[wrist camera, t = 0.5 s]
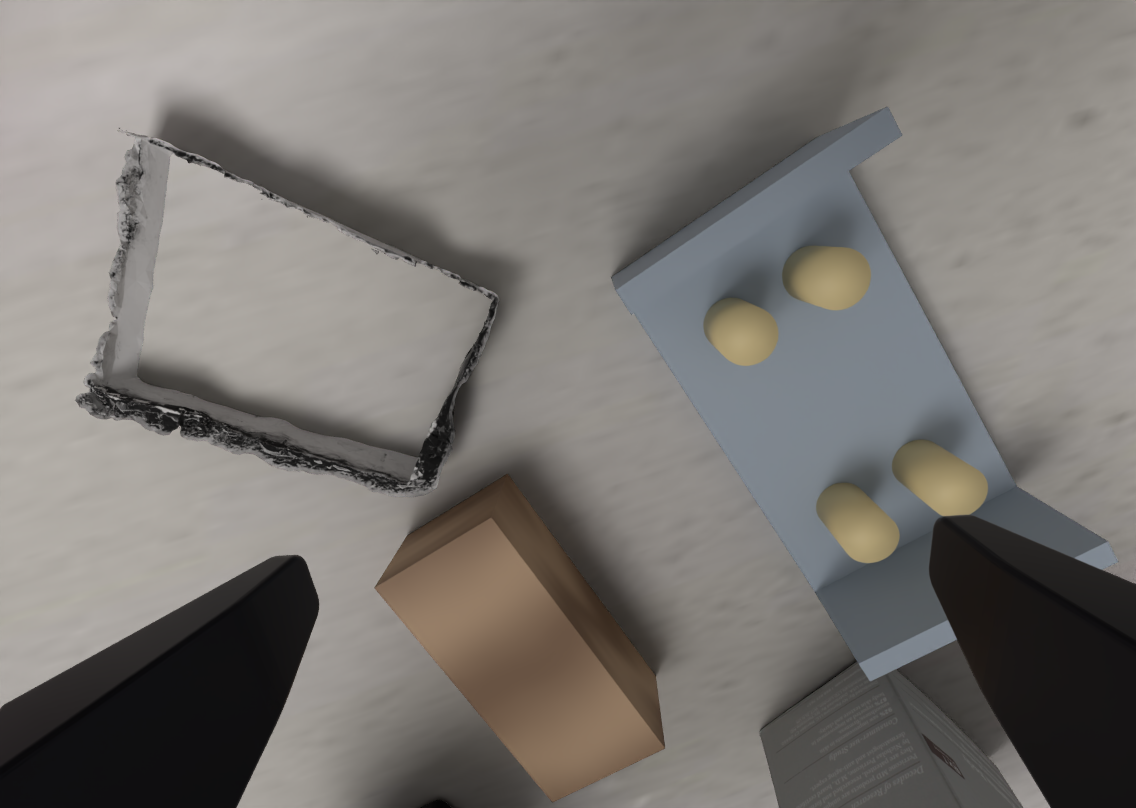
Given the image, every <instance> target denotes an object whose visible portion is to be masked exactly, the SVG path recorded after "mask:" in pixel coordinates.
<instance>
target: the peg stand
mask: <svg viewBox="0 0 1136 808" xmlns="http://www.w3.org/2000/svg"><path fill="white" fill-rule="evenodd" d="M901 136H902V133H901V131H900V129H899V127H898V125H897V123H896V121H895V119H894V118H893V116H892V114H891V112H890V110H889V108H888V107H885V108H883V109H881V110H878V111H876V112H874V113H872V114H869V115H867V116H865V117H862V118H860V119H858V120H855V121H853V122H851V123H848V124H846V125H844V126H842V127H839V128H837V129H835V130H832V131H830V132H828V133H825V134H823V135H821V136H819V137H816V138H815V139H813V140H812V141H811V142H809V143H808V144H806V145H805V146H803V147H802V148H800V149H799V150H797V151H796V152H794V153H793V154H791V155H790V156H788V157H787V158H786V159H784V160H783V161H781V162H780V163H778V164H777V165H775V166H774V167H772V168H771V169H769V170H768V171H766V172H765V173H764V174H762V175H761V176H759V177H758V178H756V179H755V180H753V181H752V182H750V183H749V184H747V185H746V186H744V187H743V188H742V189H740V190H739V191H737V192H736V193H734V194H733V195H731V196H730V197H728V198H727V199H725V200H724V201H722V202H721V203H719V204H718V205H717V206H715V207H714V208H712V209H711V210H709V211H708V212H706V213H705V214H703V215H702V216H700V217H699V218H697V219H696V220H695V221H693V222H692V223H690V224H689V225H687V226H686V227H684V228H683V229H681V230H680V231H678V232H677V233H675V234H674V235H672V236H671V237H670V238H668V239H667V240H665V241H664V242H662V243H661V244H659V245H658V246H656V247H655V248H653V249H652V250H650V251H649V252H648V253H646V254H645V255H643V256H642V257H640V258H639V259H637V260H636V261H634V262H633V263H631V264H630V265H628V266H627V267H625V268H624V269H623V270H621V271H620V272H618V273H617V274H615V275H614V276H612V277H611V278H612V281H613V284H614V287H615V290H616V292H617V293H618V295H619V296H620V298H621V300H622V301H623V303H624V304H625V306H626V307H627V309H628V310H629V312H630V313H631V315H632V314H633V313H634V314H635V316H636V317H637V319H638V320H639V322H640V323H641V325H642V327H643V328H644V330H645V331H646V333H647V334H648V336H649V337H650V339H651V340H652V342H653V344H654V345H655V347H656V348H657V350H658V351H659V353H660V354H661V356H662V357H663V359H664V360H665V362H666V364H667V365H668V367H669V368H670V370H671V371H672V373H673V374H674V376H675V377H676V379H677V380H678V382H679V384H680V385H681V387H682V388H683V390H684V391H685V393H686V394H687V396H688V397H689V399H690V400H691V402H692V404H693V405H694V407H695V408H696V410H697V411H698V413H699V414H700V416H701V417H702V419H703V420H704V422H705V424H706V425H707V427H708V428H709V430H710V431H711V433H712V434H713V436H714V437H715V439H716V440H717V442H718V444H719V445H720V447H721V448H722V450H723V451H724V453H725V454H726V456H727V457H728V459H729V461H730V462H731V464H732V465H733V467H734V468H735V470H736V471H737V473H738V474H739V476H740V477H741V479H742V481H743V482H744V484H745V485H746V487H747V488H748V490H749V491H750V493H751V494H752V496H753V497H754V499H755V501H756V502H757V504H758V505H759V507H760V508H761V510H762V511H763V513H764V514H765V516H766V517H767V519H768V521H769V522H770V524H771V525H772V527H773V528H774V530H775V531H776V533H777V534H778V536H779V537H780V539H781V541H782V542H783V544H784V545H785V547H786V548H787V550H788V551H789V553H790V554H791V556H792V557H793V559H794V561H795V562H796V564H797V565H798V567H799V568H800V570H801V571H802V573H803V574H804V576H805V578H806V579H807V581H808V582H809V584H810V585H811V587H812V588H813V590H814V591H815V593H816V595H817V596H818V598H819V600H820V601H821V603H822V604H823V606H824V608H825V609H826V611H827V613H828V614H829V616H830V618H831V619H832V621H833V623H834V624H835V626H836V627H837V629H838V631H839V632H840V634H841V636H842V637H843V639H844V641H845V642H846V644H847V646H848V647H849V649H850V650H851V652H852V654H853V655H854V657H855V659H856V660H857V662H858V664H859V665H860V667H861V668H862V670H863V671H864V673H865V674H866V676H867V677H868V679H869V680H870V681H872V680H874V679H877V678H879V677H881V676H883V675H885V674H887V673H889V672H891V671H893V670H895V669H897V668H899V667H901V666H903V665H906V664H908V663H910V662H912V661H914V660H916V659H918V658H920V657H922V656H924V655H926V654H928V653H930V652H932V651H935V650H937V649H939V648H941V647H943V646H945V645H947V644H949V643H951V642H953V641H955V640H957V639H956V636H955V634H954V632H953V630H952V628H951V626H950V624H949V621H948V619H947V617H946V615H945V613H944V611H943V608H942V606H941V604H940V602H939V600H938V598H937V595H936V593H935V591H934V589H933V587H932V584H931V581H930V577H929V560H930V551H931V542H932V534H933V527H934V523H935V521H936V520H937V519H938V518H939V517H941V516H953V515H973V516H976V517H978V518H981V519H983V520H986V521H988V522H990V523H993V524H995V525H997V526H1000V527H1002V528H1004V529H1007V530H1009V531H1012V532H1014V533H1016V534H1019V535H1021V536H1023V537H1026V538H1028V539H1030V540H1033V541H1035V542H1037V543H1040V544H1042V545H1045V546H1047V547H1049V548H1052V549H1054V550H1056V551H1059V552H1061V553H1063V554H1066V555H1068V556H1070V557H1073V558H1075V559H1078V560H1080V561H1082V562H1085V563H1087V564H1089V565H1092V566H1094V567H1096V568H1099V569H1101V570H1102V569H1104V568H1106V567H1109V566H1111V565H1113V564H1115V563H1117V562H1118V560H1117V558H1116V556H1115V554H1114V552H1113V550H1112V548H1111V546H1110V544H1109V542H1108V541H1106V540H1105V539H1103V538H1101V537H1100V536H1098V535H1097V534H1095V533H1093V532H1092V531H1090V530H1088V529H1087V528H1085V527H1083V526H1082V525H1080V524H1078V523H1077V522H1075V521H1073V520H1072V519H1070V518H1068V517H1067V516H1065V515H1063V514H1062V513H1060V512H1058V511H1057V510H1055V509H1053V508H1052V507H1050V506H1048V505H1047V504H1045V503H1043V502H1042V501H1040V500H1038V499H1037V498H1035V497H1033V496H1032V495H1030V494H1029V493H1027V492H1025V491H1024V490H1022V489H1020V488H1019V487H1017V486H1016V484H1015V482H1014V480H1013V478H1012V476H1011V475H1010V473H1009V471H1008V469H1007V467H1006V465H1005V463H1004V461H1003V460H1002V458H1001V456H1000V454H999V452H998V450H997V448H996V446H995V445H994V443H993V441H992V439H991V437H990V435H989V433H988V431H987V430H986V428H985V426H984V424H983V422H982V420H981V418H980V416H979V415H978V413H977V411H976V409H975V407H974V405H973V403H972V401H971V400H970V398H969V396H968V394H967V392H966V390H965V388H964V386H963V385H962V383H961V381H960V379H959V377H958V375H957V373H956V371H955V370H954V368H953V366H952V364H951V362H950V360H949V358H948V356H947V355H946V353H945V351H944V349H943V347H942V345H941V343H940V341H939V340H938V338H937V336H936V334H935V332H934V330H933V328H932V326H931V325H930V323H929V321H928V319H927V317H926V315H925V313H924V311H923V309H922V308H921V306H920V304H919V302H918V300H917V298H916V296H915V294H914V293H913V291H912V289H911V287H910V285H909V283H908V281H907V279H906V278H905V276H904V274H903V272H902V270H901V268H900V266H899V264H898V263H897V261H896V259H895V257H894V255H893V253H892V251H891V249H890V248H889V246H888V244H887V242H886V240H885V238H884V236H883V234H882V233H881V231H880V229H879V227H878V225H877V223H876V221H875V219H874V218H873V216H872V214H871V212H870V210H869V208H868V206H867V204H866V203H865V201H864V199H863V197H862V195H861V193H860V191H859V189H858V188H857V186H856V184H855V182H854V180H853V178H852V176H851V174H850V173H849V170H851V169H852V168H854V167H855V166H857V165H858V164H860V163H861V162H863V161H864V160H866V159H867V158H869V157H870V156H872V155H873V154H875V153H877V152H878V151H880V150H881V149H883V148H884V147H886V146H887V145H889V144H890V143H892V142H893V141H895V140H896V139H898V138H899V137H901Z"/></svg>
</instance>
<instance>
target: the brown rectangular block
mask: <svg viewBox="0 0 1136 808" xmlns="http://www.w3.org/2000/svg"><path fill="white" fill-rule="evenodd" d="M375 589H376V590H377V592H378V593H379V594H380V595H381V597H382V598H383V599H384V600H385V601H386V603H387V604H388V605H389V606H390V607H391V609H392V610H393V611H394V612H395V613H396V615H397V616H398V617H399V618H400V619H401V621H402V622H403V623H404V624H405V625H406V627H407V628H408V629H409V630H410V631H411V633H412V634H413V635H414V636H415V638H416V639H417V640H418V641H419V642H420V644H421V645H422V646H423V647H424V648H425V650H426V651H427V652H428V653H429V654H430V656H431V657H432V658H433V659H434V660H435V662H436V663H437V664H438V665H439V666H440V668H441V669H442V670H443V671H444V672H445V674H446V675H447V676H448V677H449V678H450V680H451V681H452V682H453V683H454V685H455V686H456V687H457V688H458V689H459V691H460V692H461V693H462V694H463V695H464V697H465V698H466V699H467V700H468V701H469V703H470V704H471V705H472V706H473V707H474V709H475V710H476V711H477V712H478V713H479V715H480V716H481V717H482V718H483V719H484V721H485V722H486V723H487V724H488V726H489V727H490V728H491V729H492V730H493V732H494V733H495V734H496V735H497V736H498V738H499V739H500V740H501V741H502V742H503V744H504V745H505V746H506V747H507V748H508V750H509V751H510V752H511V753H512V754H513V756H514V757H515V758H516V759H517V760H518V762H519V763H520V764H521V765H522V766H523V768H524V769H525V770H526V771H527V773H528V774H529V775H530V776H531V777H532V779H533V780H534V781H535V782H536V783H537V785H538V786H539V787H540V788H541V789H542V791H543V792H544V793H545V794H546V795H547V797H548V798H549V799H550V800H551V801H552V803H553V802H555V801H557V800H559V799H561V798H563V797H565V796H567V795H569V794H571V793H573V792H575V791H577V790H580V789H582V788H584V787H586V786H588V785H590V784H592V783H594V782H596V781H598V780H600V779H602V778H605V777H607V776H609V775H611V774H613V773H615V772H617V771H619V770H621V769H623V768H625V767H627V766H629V765H632V764H634V763H636V762H638V761H640V760H642V759H644V758H646V757H648V756H650V755H652V754H654V753H657V752H659V751H661V750H663V749H665V743H664V736H663V728H662V721H661V713H660V705H659V698H658V690H657V682H656V676H655V675H654V673H653V672H652V670H651V669H650V668H649V666H648V665H647V664H646V662H645V661H644V660H643V658H642V657H641V655H640V654H639V653H638V651H637V650H636V649H635V647H634V646H633V644H632V643H631V642H630V640H629V639H628V638H627V636H626V635H625V634H624V632H623V631H622V629H621V628H620V627H619V625H618V624H617V623H616V621H615V620H614V619H613V617H612V616H611V614H610V613H609V612H608V610H607V609H606V608H605V606H604V605H603V604H602V602H601V601H600V599H599V598H598V597H597V595H596V594H595V593H594V591H593V590H592V588H591V587H590V586H589V584H588V583H587V582H586V580H585V579H584V578H583V576H582V575H581V573H580V572H579V571H578V569H577V568H576V567H575V565H574V564H573V563H572V561H571V560H570V558H569V557H568V556H567V554H566V553H565V552H564V550H563V549H562V548H561V546H560V545H559V543H558V542H557V541H556V539H555V538H554V537H553V535H552V534H551V532H550V531H549V530H548V528H547V527H546V526H545V524H544V523H543V522H542V520H541V519H540V517H539V516H538V515H537V513H536V512H535V511H534V509H533V508H532V507H531V505H530V504H529V502H528V501H527V500H526V498H525V497H524V496H523V494H522V493H521V491H520V490H519V489H518V487H517V486H516V485H515V483H514V482H513V481H512V479H511V478H510V476H509V475H508V474H506V475H505V476H503V477H502V478H500V479H498V480H497V481H495V482H493V483H492V484H490V485H489V486H487V487H485V488H484V489H482V490H480V491H479V492H477V493H476V494H474V495H472V496H471V497H469V498H468V499H466V500H464V501H463V502H461V503H459V504H458V505H456V506H455V507H453V508H451V509H450V510H448V511H446V512H445V513H443V514H442V515H440V516H438V517H437V518H435V519H433V520H432V521H430V522H429V523H427V524H425V525H424V526H422V527H420V528H419V529H417V530H416V531H414V532H412V533H411V534H409V535H408V536H407V537H406V538H405V540H404V542H403V543H402V545H401V546H400V548H399V550H398V551H397V553H396V554H395V556H394V557H393V559H392V561H391V562H390V564H389V565H388V567H387V569H386V570H385V572H384V573H383V575H382V577H381V578H380V580H379V581H378V583H377V585H376V586H375Z"/></svg>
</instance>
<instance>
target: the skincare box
mask: <svg viewBox="0 0 1136 808" xmlns="http://www.w3.org/2000/svg"><path fill="white" fill-rule="evenodd" d="M760 737H761V740H762V743H763V747H764V751H765V754H766V758H767V762H768V766H769V769H770V773H771V778H772V781H773V785H774V789H775V793H776V797H777V801H778V805H779V808H1023V806H1022V805H1021V803H1020V802H1019V800H1018V799H1017V797H1016V796H1015V794H1014V793H1013V791H1012V790H1011V788H1010V786H1009V785H1008V783H1007V782H1006V780H1005V779H1004V777H1003V776H1002V774H1001V773H1000V771H999V770H998V768H997V767H996V765H995V764H994V763H993V762H992V761H991V760H990V759H989V758H988V757H987V756H986V755H985V754H984V753H983V752H982V751H981V750H980V749H979V748H978V747H977V746H976V745H975V744H974V742H973V741H972V740H971V739H970V738H969V737H968V736H967V735H966V734H965V733H964V732H963V731H962V730H961V729H959V728H958V727H957V726H956V725H955V724H954V723H953V722H952V721H951V720H950V719H949V718H948V717H947V716H946V715H945V714H944V713H943V712H942V711H941V710H940V709H939V708H938V707H937V706H936V705H935V704H934V703H933V702H932V701H930V700H929V699H928V698H927V697H926V696H925V695H924V694H923V693H922V692H921V691H920V690H919V689H918V688H916V687H915V686H914V685H913V684H912V683H911V682H910V681H908V680H907V679H906V678H905V677H904V676H903V675H902V674H900V673H899V672H898V671H897V670H896V669H895V670H893V671H891V672H889V673H887V674H885V675H883V676H881V677H879V678H877V679H874V680H872V681H870V680H869V679H868V677H867V676H866V674H865V673H864V671H863V670H862V668H861V667H860V665H859V664H858V662H856V663H854V664H853V665H851V666H850V667H849V668H847V669H846V670H845V671H843V672H842V673H840V674H839V675H838V676H836V677H835V678H833V679H832V680H831V681H829V682H828V683H826V684H825V685H824V686H822V687H821V688H819V689H818V690H816V691H815V692H814V693H812V694H811V695H809V696H808V697H806V698H805V699H803V700H802V701H800V702H799V703H798V704H796V705H795V706H793V707H792V708H790V709H789V710H788V711H786V712H785V713H783V714H782V715H781V716H779V717H778V718H776V719H775V720H774V721H773V722H771V723H770V724H768V725H767V726H766V727H764V728H763V729H762V730H761V731H760Z"/></svg>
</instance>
